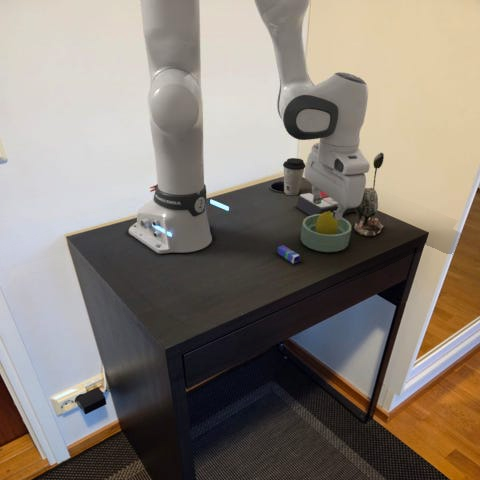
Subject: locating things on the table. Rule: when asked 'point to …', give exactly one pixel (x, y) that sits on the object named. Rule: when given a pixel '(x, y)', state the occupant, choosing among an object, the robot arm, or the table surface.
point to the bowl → (325, 235)
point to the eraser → (288, 254)
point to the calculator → (326, 204)
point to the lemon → (327, 224)
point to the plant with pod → (369, 207)
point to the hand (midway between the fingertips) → (326, 210)
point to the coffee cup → (293, 175)
